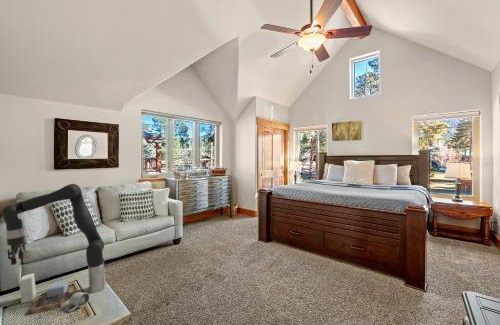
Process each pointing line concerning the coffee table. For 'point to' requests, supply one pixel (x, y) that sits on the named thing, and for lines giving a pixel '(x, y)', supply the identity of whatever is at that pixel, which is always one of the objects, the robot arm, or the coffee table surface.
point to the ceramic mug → (78, 300)
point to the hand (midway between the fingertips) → (17, 261)
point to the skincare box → (27, 288)
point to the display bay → (48, 307)
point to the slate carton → (57, 289)
